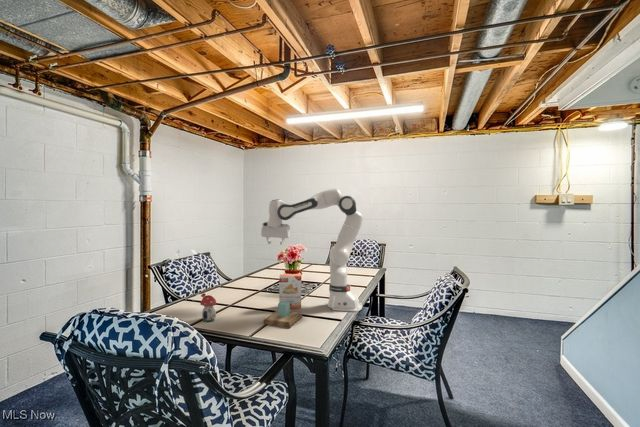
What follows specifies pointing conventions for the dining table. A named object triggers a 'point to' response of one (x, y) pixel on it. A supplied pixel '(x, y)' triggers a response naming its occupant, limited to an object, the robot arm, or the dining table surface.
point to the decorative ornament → (208, 308)
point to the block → (283, 309)
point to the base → (283, 319)
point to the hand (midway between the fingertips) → (275, 244)
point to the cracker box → (290, 289)
